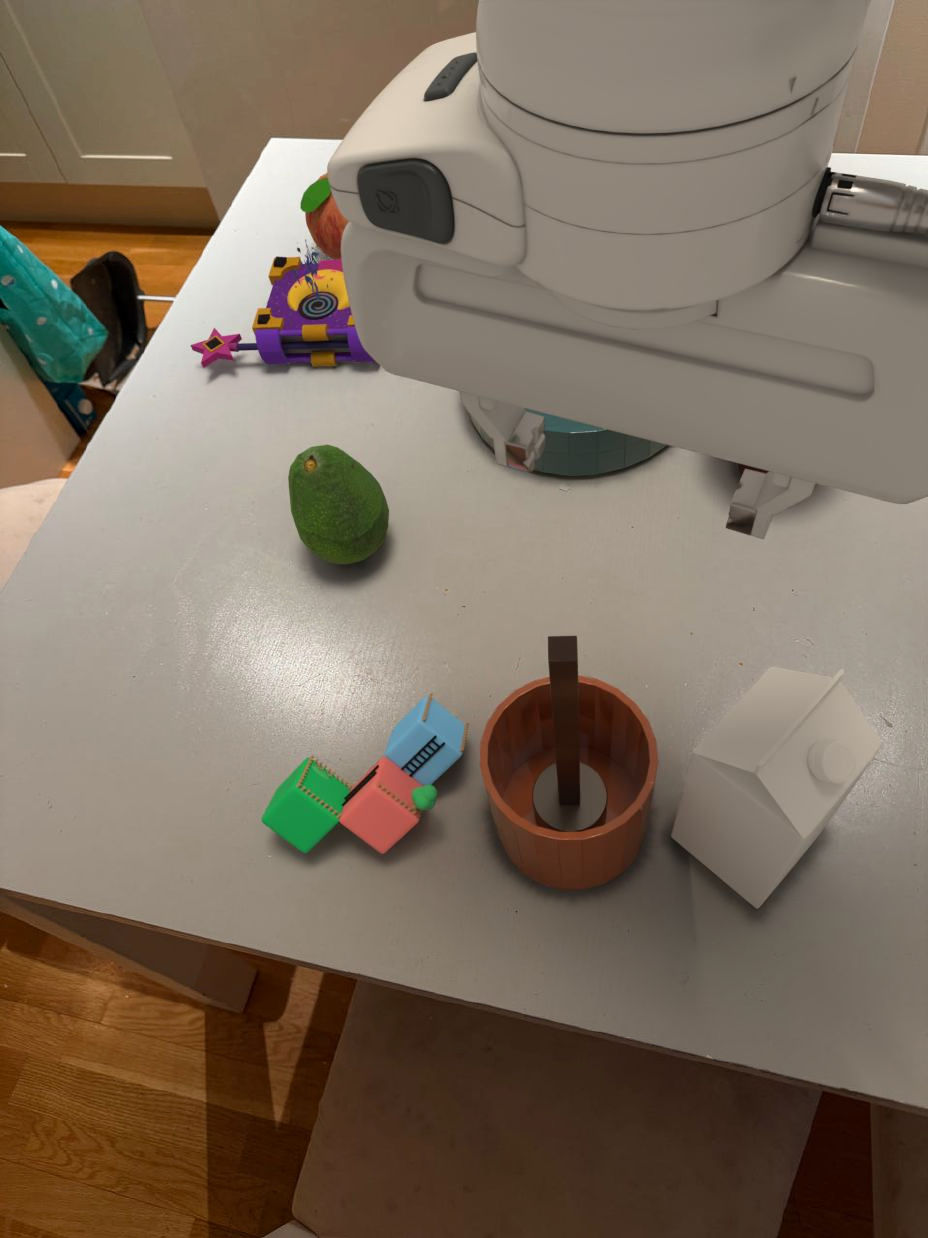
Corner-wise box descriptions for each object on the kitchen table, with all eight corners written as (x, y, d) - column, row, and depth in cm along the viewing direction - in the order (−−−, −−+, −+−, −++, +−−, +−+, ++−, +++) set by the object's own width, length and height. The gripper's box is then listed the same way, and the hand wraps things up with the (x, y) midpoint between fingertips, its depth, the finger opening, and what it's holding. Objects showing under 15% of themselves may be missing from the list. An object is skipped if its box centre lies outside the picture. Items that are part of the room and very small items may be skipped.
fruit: (303, 245, 100) (277, 161, 92) (380, 216, 102) (362, 129, 93) (329, 287, 96) (304, 203, 87) (409, 256, 97) (393, 169, 89)
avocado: (297, 536, 78) (253, 443, 68) (376, 498, 80) (345, 401, 70) (331, 601, 74) (290, 511, 64) (414, 560, 76) (387, 466, 65)
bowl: (684, 309, 88) (690, 256, 83) (707, 473, 77) (715, 424, 72) (471, 324, 90) (464, 274, 85) (464, 485, 79) (456, 439, 74)
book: (435, 379, 87) (414, 273, 76) (194, 384, 90) (143, 283, 80) (450, 281, 94) (433, 172, 84) (227, 289, 98) (185, 186, 88)
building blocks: (371, 820, 69) (471, 723, 64) (347, 891, 61) (460, 787, 57) (290, 759, 67) (388, 656, 63) (257, 824, 60) (365, 712, 56)
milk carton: (669, 837, 61) (699, 720, 45) (733, 765, 63) (784, 629, 47) (756, 911, 58) (823, 814, 42) (821, 833, 60) (907, 712, 44)
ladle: (604, 776, 63) (612, 602, 43) (608, 845, 60) (618, 693, 41) (534, 776, 63) (510, 605, 44) (534, 845, 61) (509, 696, 41)
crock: (641, 743, 65) (650, 672, 55) (652, 890, 59) (665, 839, 50) (496, 745, 66) (481, 676, 56) (494, 890, 60) (477, 840, 51)
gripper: (1112, 137, 21) (925, 500, 33) (379, 45, 28) (439, 376, 40) (1079, 304, 19) (888, 635, 30) (274, 160, 25) (373, 479, 37)
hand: (630, 488), depth 35 cm, fingers open, 8 cm apart
